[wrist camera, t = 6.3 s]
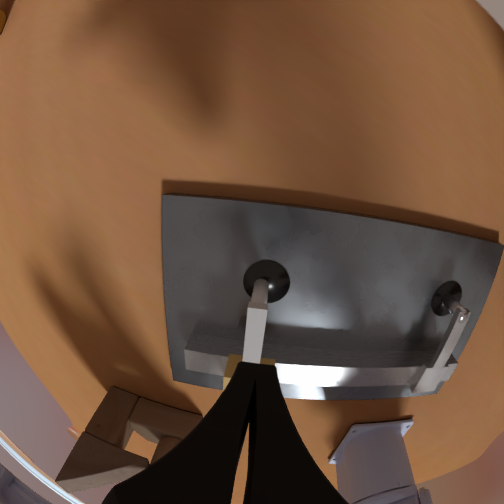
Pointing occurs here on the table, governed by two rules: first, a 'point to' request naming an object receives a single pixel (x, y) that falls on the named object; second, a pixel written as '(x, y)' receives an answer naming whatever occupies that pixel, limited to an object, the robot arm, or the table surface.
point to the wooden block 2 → (122, 440)
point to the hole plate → (320, 295)
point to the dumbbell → (2, 20)
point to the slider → (252, 332)
